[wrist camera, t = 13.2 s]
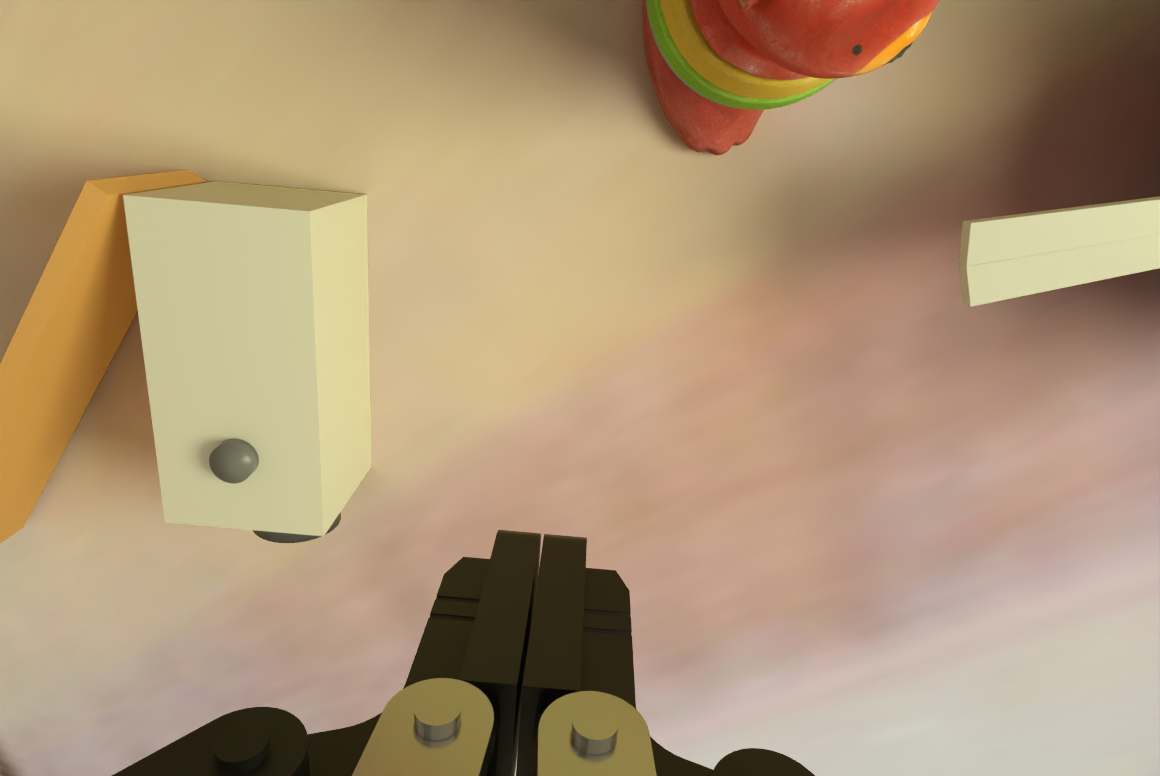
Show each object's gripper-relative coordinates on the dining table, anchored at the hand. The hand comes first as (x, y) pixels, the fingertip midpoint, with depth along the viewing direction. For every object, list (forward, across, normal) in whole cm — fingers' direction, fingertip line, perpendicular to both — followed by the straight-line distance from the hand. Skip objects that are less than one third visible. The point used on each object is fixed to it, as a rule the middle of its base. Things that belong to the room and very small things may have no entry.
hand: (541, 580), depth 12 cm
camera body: (+29, -16, -5) cm, 33 cm away
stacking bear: (+29, +6, +13) cm, 33 cm away
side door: (+28, -28, -8) cm, 40 cm away
